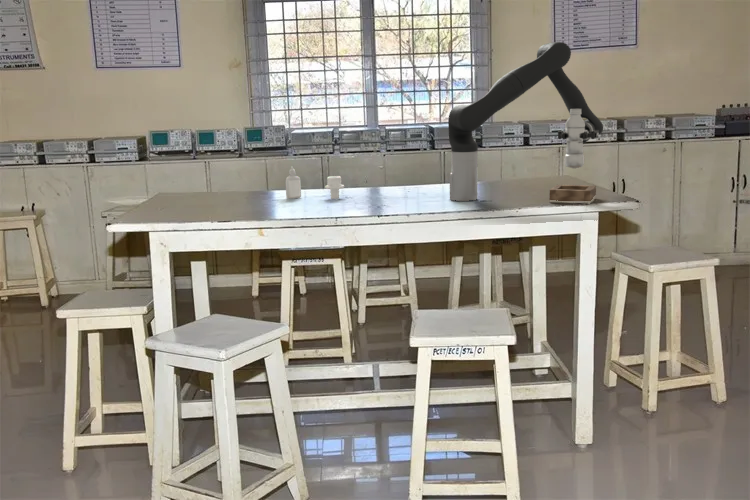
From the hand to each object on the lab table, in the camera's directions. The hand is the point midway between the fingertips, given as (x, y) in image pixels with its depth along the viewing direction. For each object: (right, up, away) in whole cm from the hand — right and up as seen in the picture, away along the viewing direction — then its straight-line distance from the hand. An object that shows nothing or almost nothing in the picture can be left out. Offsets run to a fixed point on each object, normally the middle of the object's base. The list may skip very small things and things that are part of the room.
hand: (573, 136), depth 250 cm
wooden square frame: (+1, -21, +7) cm, 22 cm away
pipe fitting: (-82, -19, +28) cm, 89 cm away
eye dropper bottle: (-98, -19, +32) cm, 105 cm away
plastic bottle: (+1, -10, +5) cm, 11 cm away
